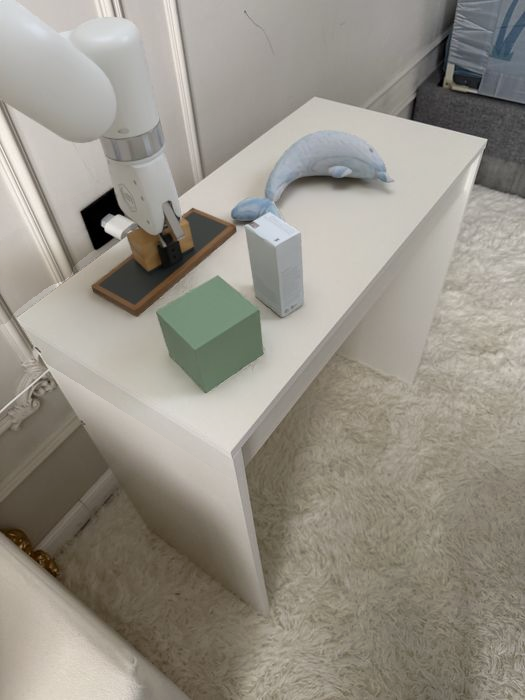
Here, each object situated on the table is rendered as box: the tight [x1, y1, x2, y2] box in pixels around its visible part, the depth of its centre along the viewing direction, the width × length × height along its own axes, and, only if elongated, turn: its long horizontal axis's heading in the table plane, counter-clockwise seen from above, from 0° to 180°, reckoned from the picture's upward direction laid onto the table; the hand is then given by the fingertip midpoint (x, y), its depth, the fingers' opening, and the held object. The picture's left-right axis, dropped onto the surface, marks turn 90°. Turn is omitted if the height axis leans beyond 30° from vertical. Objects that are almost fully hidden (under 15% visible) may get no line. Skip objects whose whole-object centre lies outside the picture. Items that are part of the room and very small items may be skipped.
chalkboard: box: [90, 207, 237, 317], centre depth 78 cm, size 22×9×1 cm, turn 144°
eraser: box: [125, 217, 194, 274], centre depth 76 cm, size 8×4×5 cm, turn 130°
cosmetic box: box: [244, 212, 305, 318], centre depth 67 cm, size 6×4×12 cm
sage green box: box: [155, 274, 264, 394], centre depth 63 cm, size 9×8×8 cm
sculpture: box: [230, 129, 395, 223], centre depth 84 cm, size 18×8×25 cm
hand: (164, 254), depth 77 cm, fingers closed on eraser, 4 cm apart
